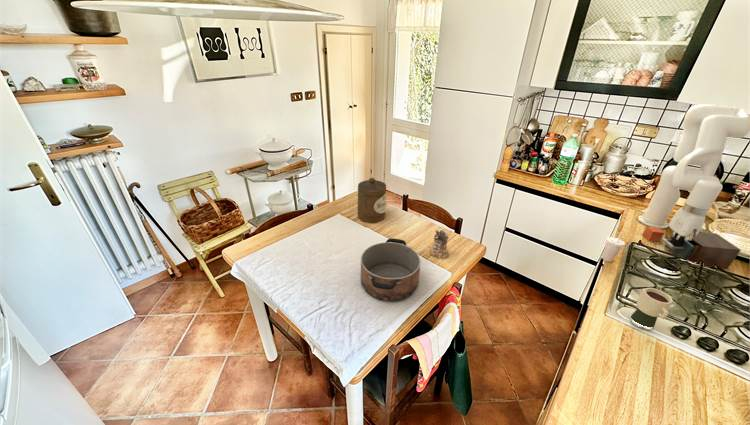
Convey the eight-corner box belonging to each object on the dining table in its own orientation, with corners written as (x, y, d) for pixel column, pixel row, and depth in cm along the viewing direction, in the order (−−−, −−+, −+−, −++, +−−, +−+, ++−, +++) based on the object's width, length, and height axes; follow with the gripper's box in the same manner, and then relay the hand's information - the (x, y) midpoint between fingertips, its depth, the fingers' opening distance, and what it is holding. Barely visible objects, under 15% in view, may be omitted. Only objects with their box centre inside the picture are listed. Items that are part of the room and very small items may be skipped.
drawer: (669, 260, 132) (678, 245, 128) (652, 245, 142) (660, 230, 138) (715, 264, 130) (726, 249, 126) (695, 249, 140) (704, 234, 136)
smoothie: (618, 264, 130) (632, 237, 124) (602, 262, 131) (615, 235, 125) (611, 255, 136) (624, 229, 129) (596, 254, 137) (608, 227, 130)
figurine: (447, 259, 132) (450, 236, 126) (430, 257, 133) (433, 234, 127) (446, 250, 138) (450, 227, 132) (431, 248, 139) (433, 225, 133)
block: (642, 234, 152) (646, 226, 149) (653, 235, 151) (658, 227, 149) (648, 240, 147) (653, 231, 145) (660, 241, 147) (664, 232, 144)
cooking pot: (412, 315, 104) (415, 291, 99) (350, 303, 108) (349, 280, 103) (421, 262, 130) (424, 241, 124) (371, 254, 134) (371, 233, 129)
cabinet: (690, 264, 131) (702, 246, 126) (670, 247, 142) (681, 230, 137) (727, 268, 129) (741, 249, 124) (704, 251, 140) (716, 233, 135)
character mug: (663, 338, 97) (684, 309, 91) (640, 336, 98) (659, 307, 91) (640, 312, 107) (657, 284, 101) (619, 310, 107) (635, 282, 101)
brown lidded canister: (382, 224, 156) (383, 185, 146) (354, 221, 159) (353, 182, 149) (387, 211, 169) (389, 174, 158) (362, 208, 172) (361, 171, 161)
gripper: (672, 200, 133) (653, 236, 142) (698, 216, 120) (675, 254, 129) (691, 202, 132) (671, 237, 141) (720, 218, 119) (695, 256, 128)
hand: (673, 245), depth 135 cm, fingers closed
